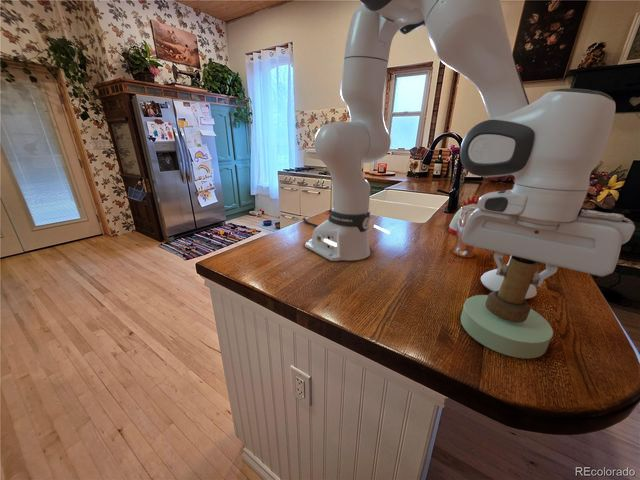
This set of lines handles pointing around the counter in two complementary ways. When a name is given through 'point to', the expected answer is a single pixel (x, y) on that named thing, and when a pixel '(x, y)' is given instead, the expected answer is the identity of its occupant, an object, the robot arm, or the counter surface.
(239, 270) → the counter surface
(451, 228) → the kitchen timer
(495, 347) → the disc
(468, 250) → the beer glass
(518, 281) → the mortar and pestle
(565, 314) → the counter surface
